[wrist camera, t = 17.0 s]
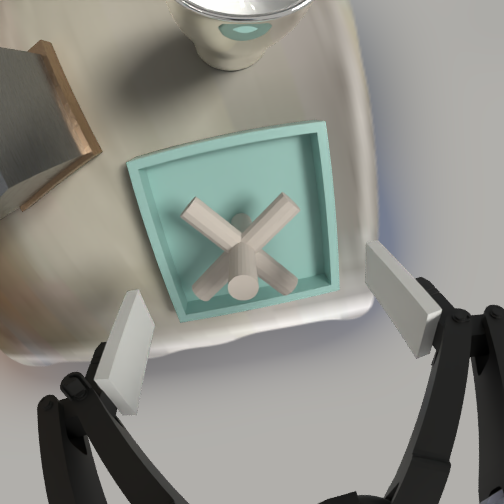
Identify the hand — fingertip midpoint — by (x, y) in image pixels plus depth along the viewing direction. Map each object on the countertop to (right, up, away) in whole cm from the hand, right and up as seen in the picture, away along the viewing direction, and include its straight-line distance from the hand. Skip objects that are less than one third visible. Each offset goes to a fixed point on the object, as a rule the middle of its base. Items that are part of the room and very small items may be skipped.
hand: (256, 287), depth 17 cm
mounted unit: (-20, +14, +4) cm, 25 cm away
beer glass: (-2, +19, +4) cm, 20 cm away
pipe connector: (-1, +5, +10) cm, 11 cm away
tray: (-1, +5, +11) cm, 12 cm away
